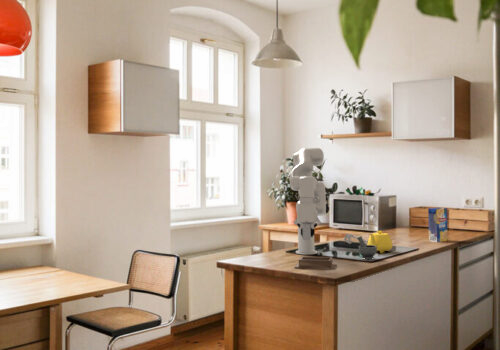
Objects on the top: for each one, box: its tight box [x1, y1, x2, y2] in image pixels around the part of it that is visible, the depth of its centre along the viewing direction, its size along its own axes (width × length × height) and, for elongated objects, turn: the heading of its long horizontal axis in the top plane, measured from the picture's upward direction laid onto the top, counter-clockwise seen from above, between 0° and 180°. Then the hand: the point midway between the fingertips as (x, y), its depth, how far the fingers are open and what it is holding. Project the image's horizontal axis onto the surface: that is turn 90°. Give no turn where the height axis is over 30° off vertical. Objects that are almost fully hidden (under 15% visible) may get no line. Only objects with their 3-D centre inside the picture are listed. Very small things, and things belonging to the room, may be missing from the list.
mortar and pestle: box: [356, 236, 378, 259], centre depth 284 cm, size 11×9×12 cm
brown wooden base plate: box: [294, 256, 337, 270], centre depth 263 cm, size 12×20×4 cm, turn 77°
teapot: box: [366, 230, 393, 254], centre depth 306 cm, size 13×20×12 cm
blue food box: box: [427, 207, 448, 243], centre depth 348 cm, size 7×11×22 cm, turn 124°
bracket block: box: [302, 222, 312, 240], centre depth 265 cm, size 6×4×9 cm, turn 165°
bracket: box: [343, 233, 368, 245], centre depth 338 cm, size 3×21×10 cm, turn 50°
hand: (307, 236), depth 265 cm, fingers closed on bracket block, 4 cm apart
